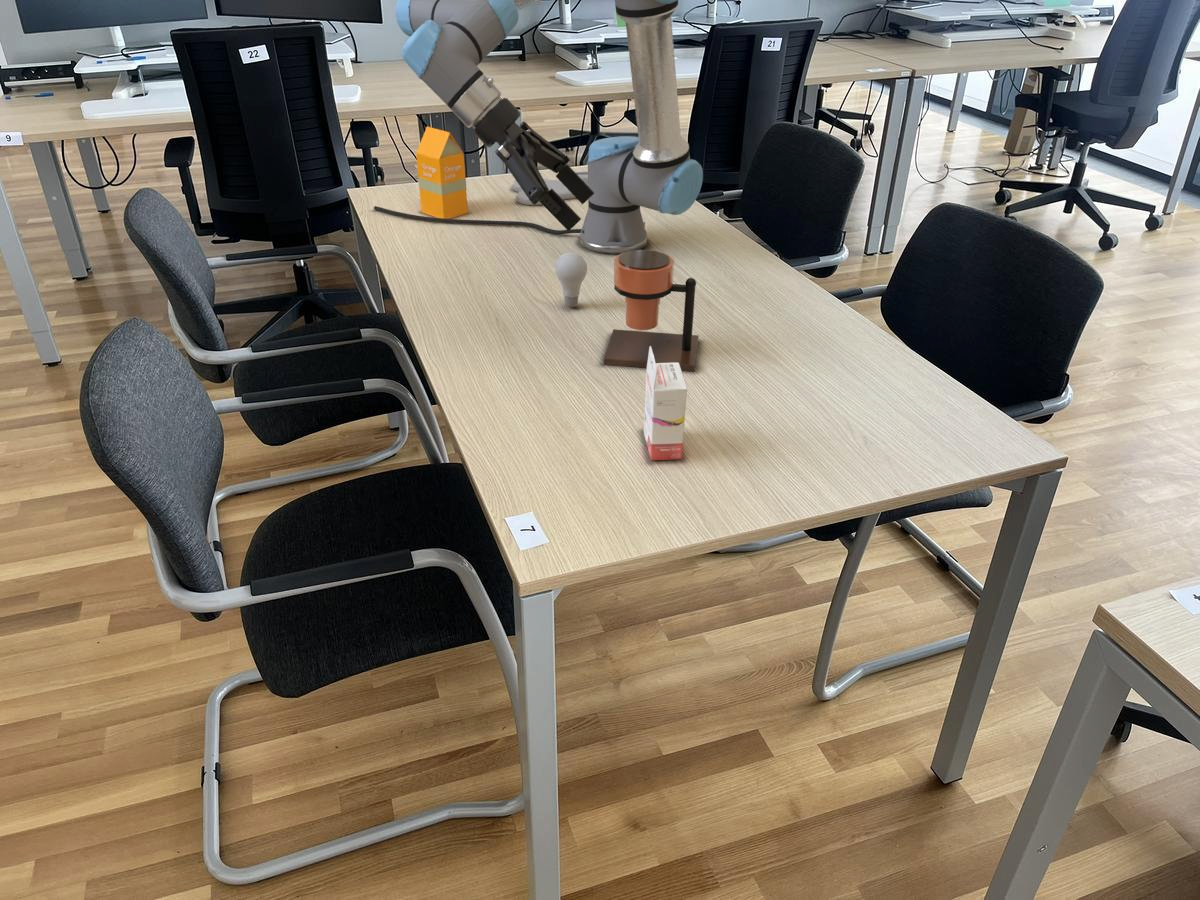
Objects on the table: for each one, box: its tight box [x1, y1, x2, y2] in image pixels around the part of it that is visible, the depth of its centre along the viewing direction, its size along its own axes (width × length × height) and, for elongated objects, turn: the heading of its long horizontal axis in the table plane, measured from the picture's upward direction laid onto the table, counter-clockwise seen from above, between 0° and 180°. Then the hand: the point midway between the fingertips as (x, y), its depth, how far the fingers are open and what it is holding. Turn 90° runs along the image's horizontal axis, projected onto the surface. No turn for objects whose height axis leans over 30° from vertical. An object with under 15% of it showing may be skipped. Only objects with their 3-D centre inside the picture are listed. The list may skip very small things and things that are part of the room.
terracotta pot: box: [613, 249, 675, 331], centre depth 157 cm, size 10×10×12 cm
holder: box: [512, 170, 588, 206], centre depth 240 cm, size 19×34×5 cm, turn 100°
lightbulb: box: [554, 251, 588, 309], centre depth 176 cm, size 6×6×11 cm
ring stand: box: [613, 277, 697, 351], centre depth 159 cm, size 14×10×13 cm
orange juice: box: [415, 125, 469, 219], centre depth 221 cm, size 8×9×20 cm
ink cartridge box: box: [643, 346, 688, 461], centre depth 133 cm, size 9×5×15 cm, turn 5°
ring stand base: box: [603, 329, 700, 372], centre depth 162 cm, size 16×12×1 cm
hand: (582, 211), depth 151 cm, fingers open, 13 cm apart
